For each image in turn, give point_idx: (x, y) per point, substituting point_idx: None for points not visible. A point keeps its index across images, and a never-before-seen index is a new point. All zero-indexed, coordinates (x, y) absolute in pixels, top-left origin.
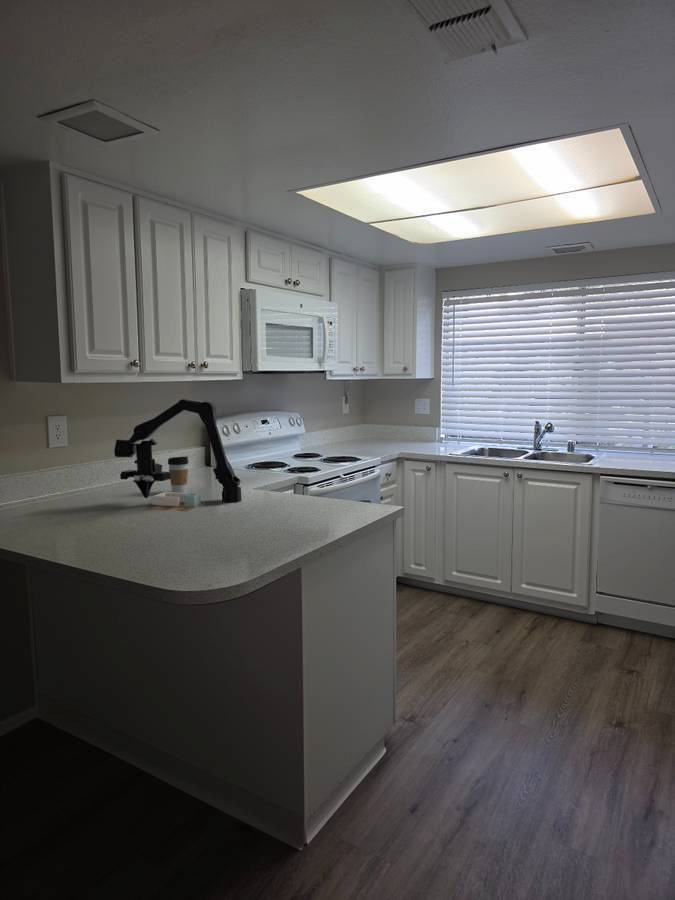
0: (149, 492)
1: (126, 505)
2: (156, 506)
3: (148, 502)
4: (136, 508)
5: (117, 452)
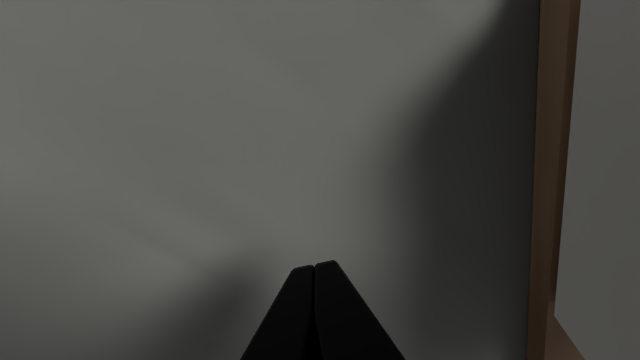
0: (384, 330)
1: (105, 326)
2: None
3: (160, 52)
4: None
5: None
